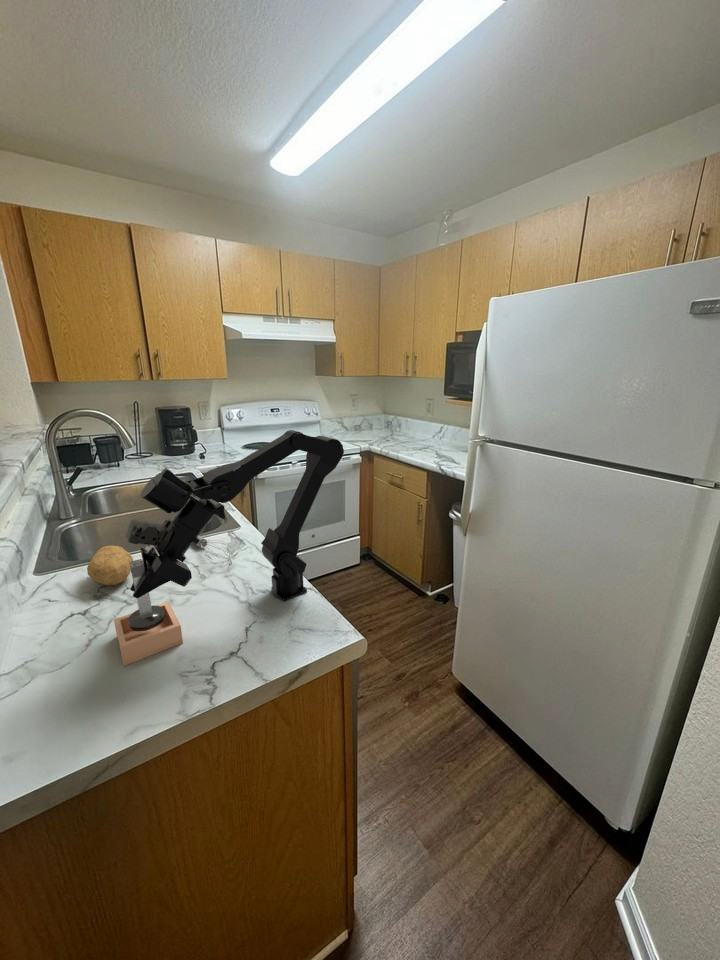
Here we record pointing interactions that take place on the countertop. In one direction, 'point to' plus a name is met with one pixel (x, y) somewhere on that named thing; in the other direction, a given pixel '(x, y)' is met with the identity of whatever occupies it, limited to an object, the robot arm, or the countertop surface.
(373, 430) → the countertop surface
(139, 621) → the grey stamp
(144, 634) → the peach square open box
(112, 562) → the potato
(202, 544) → the kitchen whisk
